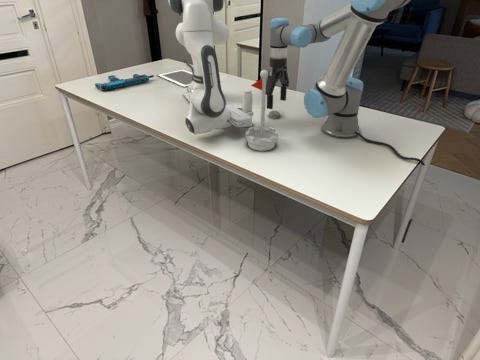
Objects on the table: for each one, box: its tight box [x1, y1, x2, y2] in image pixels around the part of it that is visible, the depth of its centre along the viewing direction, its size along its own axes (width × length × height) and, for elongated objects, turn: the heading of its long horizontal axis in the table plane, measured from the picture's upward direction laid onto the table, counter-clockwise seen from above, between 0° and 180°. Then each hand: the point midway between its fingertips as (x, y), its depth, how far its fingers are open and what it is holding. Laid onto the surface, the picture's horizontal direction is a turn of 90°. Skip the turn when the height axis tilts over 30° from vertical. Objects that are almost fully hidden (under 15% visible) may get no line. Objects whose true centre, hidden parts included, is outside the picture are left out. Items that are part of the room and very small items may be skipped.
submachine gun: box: [94, 73, 155, 91], centre depth 208 cm, size 34×4×25 cm
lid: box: [268, 110, 281, 119], centre depth 163 cm, size 5×5×2 cm
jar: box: [241, 88, 254, 128], centre depth 151 cm, size 4×4×16 cm
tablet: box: [156, 69, 193, 88], centre depth 216 cm, size 32×20×1 cm, turn 41°
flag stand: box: [245, 69, 279, 152], centre depth 130 cm, size 13×13×30 cm
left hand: (248, 111), depth 152 cm, fingers closed on jar, 4 cm apart
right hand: (276, 104), depth 159 cm, fingers open, 13 cm apart
